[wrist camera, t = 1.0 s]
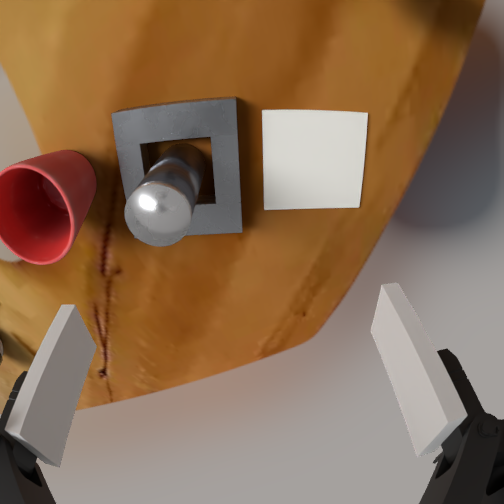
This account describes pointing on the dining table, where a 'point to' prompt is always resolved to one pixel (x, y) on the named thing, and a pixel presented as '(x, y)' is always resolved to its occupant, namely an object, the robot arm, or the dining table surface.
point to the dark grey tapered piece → (1, 352)
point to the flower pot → (45, 204)
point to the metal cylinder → (166, 196)
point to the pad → (313, 158)
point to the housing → (182, 127)
